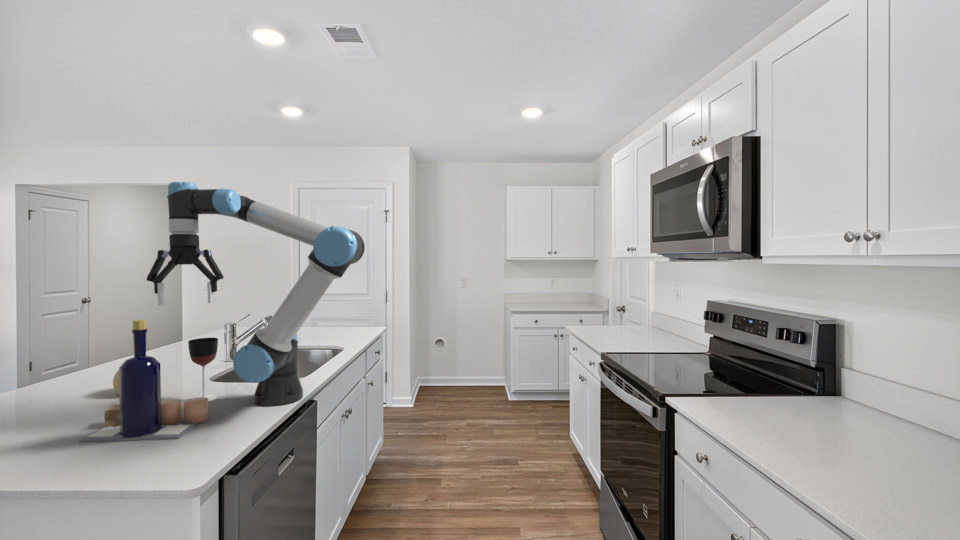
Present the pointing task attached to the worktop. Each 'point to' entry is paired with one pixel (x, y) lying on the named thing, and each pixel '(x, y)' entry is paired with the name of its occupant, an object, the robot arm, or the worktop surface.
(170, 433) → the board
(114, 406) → the oak box
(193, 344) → the wineglass
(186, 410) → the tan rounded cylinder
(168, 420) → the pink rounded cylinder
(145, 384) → the bottle
